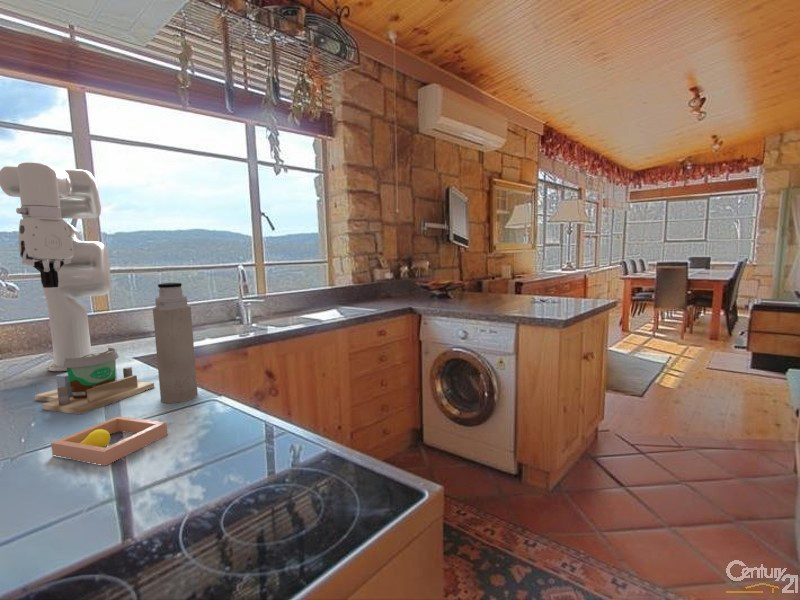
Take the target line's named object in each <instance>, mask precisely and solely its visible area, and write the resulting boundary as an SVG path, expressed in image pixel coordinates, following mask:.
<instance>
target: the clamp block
mask: <svg viewBox="0 0 800 600" xmlns="http://www.w3.org/2000/svg"><path fill="white" fill-rule="evenodd" d="M55 381H56V388H57V387H60V386H68V388H69V396H71V395H73V394H72V390H71V385H70V381H69V377H68V372H64V373H60V374H57V375H55Z"/></svg>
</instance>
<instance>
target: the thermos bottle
mask: <svg viewBox="0 0 800 600" xmlns="http://www.w3.org/2000/svg"><path fill="white" fill-rule="evenodd" d="M182 285H183V284H182V282H164V283H163V282H162V283H158V284H157V288H159V289H158V296H157V297H156V298H155V299H154V300H155V302H154V304H155V307H152V317H153V326H154V327H153V328H154V337H155V338H154V339H155V349H156V362H157V371H158V383H159V385H158V386H159V392H160V394H159V395H160V402H162V403H165V404H177V403H183V402H187V401H190V400H192V399H195V398H196V397H198V395H199V392H198V382H197V369H196V358H195V347H194V346H195V345H194V331H193V321H192V307H191V305H190V304H188V297H187V296H186V295H184V294H183V289H182Z"/></svg>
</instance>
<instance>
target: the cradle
mask: <svg viewBox="0 0 800 600" xmlns="http://www.w3.org/2000/svg"><path fill="white" fill-rule="evenodd" d="M122 373H123V374H122V375H123V378H120V379H118V380H115V381H113V382H110V383H107V384H104V385H101V386H97V387H94V388H91V389H88V390H86V392H87V398H82V399H73V395H71V396H69V388H68V386H60V387H57V386H56V388H55V389H52V390H48V391H45V392H42V393H38V394H35V395H34V397H35V401H41V402H45V403H42V410H46V411H47V410H48V411H51V412H53V411H54V412H60V413H68V414H77V415H83V414H85V413H87V412H91V411H94V410H96V409H99V408H101V407H104V406H107V405H110V404H113V403H116V402H118V401H121V400H124V399H126V398H129V397H132V396H135V395H137V394H140V393H143V392H145V390H146V391H148V389H149V390H151V389H150V388H152V389H154V388H155V383H154V382H146V381H138V377H137V374H134V373H133V367H132V366H127V367H123V368H122ZM153 387H154V388H153ZM93 409H94V410H93ZM90 410H91V411H90Z"/></svg>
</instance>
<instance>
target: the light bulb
mask: <svg viewBox="0 0 800 600" xmlns="http://www.w3.org/2000/svg"><path fill="white" fill-rule="evenodd" d="M110 441H111V435H110V434H109V432H108V431H106V430H103V429H98V430H95V431H93V432H91V433H90V434H89V435H88V436H87V437H86V439H85V440H83V441H82V442H80V444H86V445H92V446H98V447H104V448H106V447H108V446H109V444H110Z"/></svg>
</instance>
